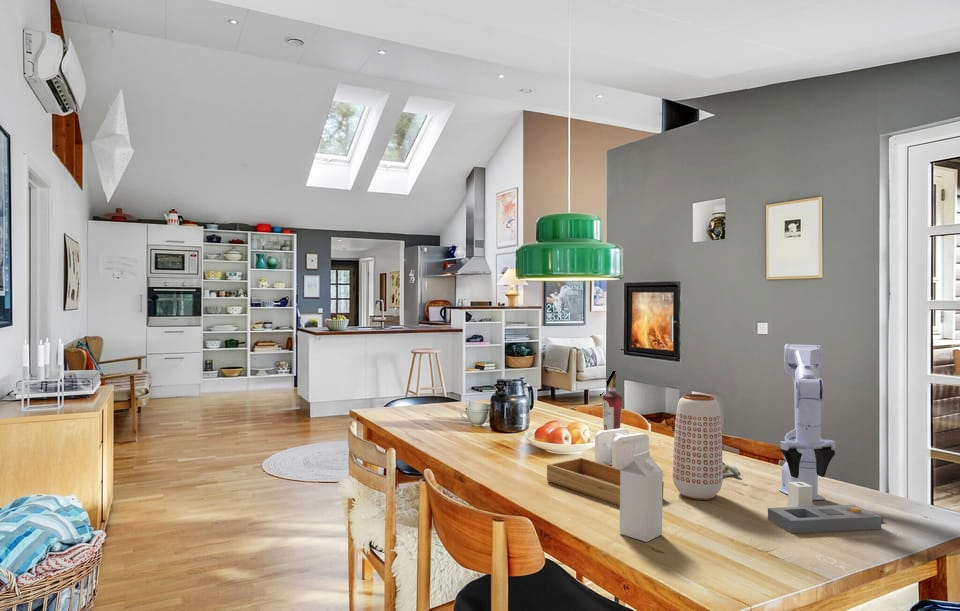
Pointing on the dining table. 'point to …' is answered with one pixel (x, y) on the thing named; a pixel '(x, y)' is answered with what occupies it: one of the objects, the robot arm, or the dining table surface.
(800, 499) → the block
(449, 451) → the dining table surface
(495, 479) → the dining table surface
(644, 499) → the milk carton
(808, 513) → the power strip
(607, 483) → the tray
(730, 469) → the salad plate
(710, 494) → the patterned ceramic vase
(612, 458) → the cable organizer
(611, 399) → the liquor
